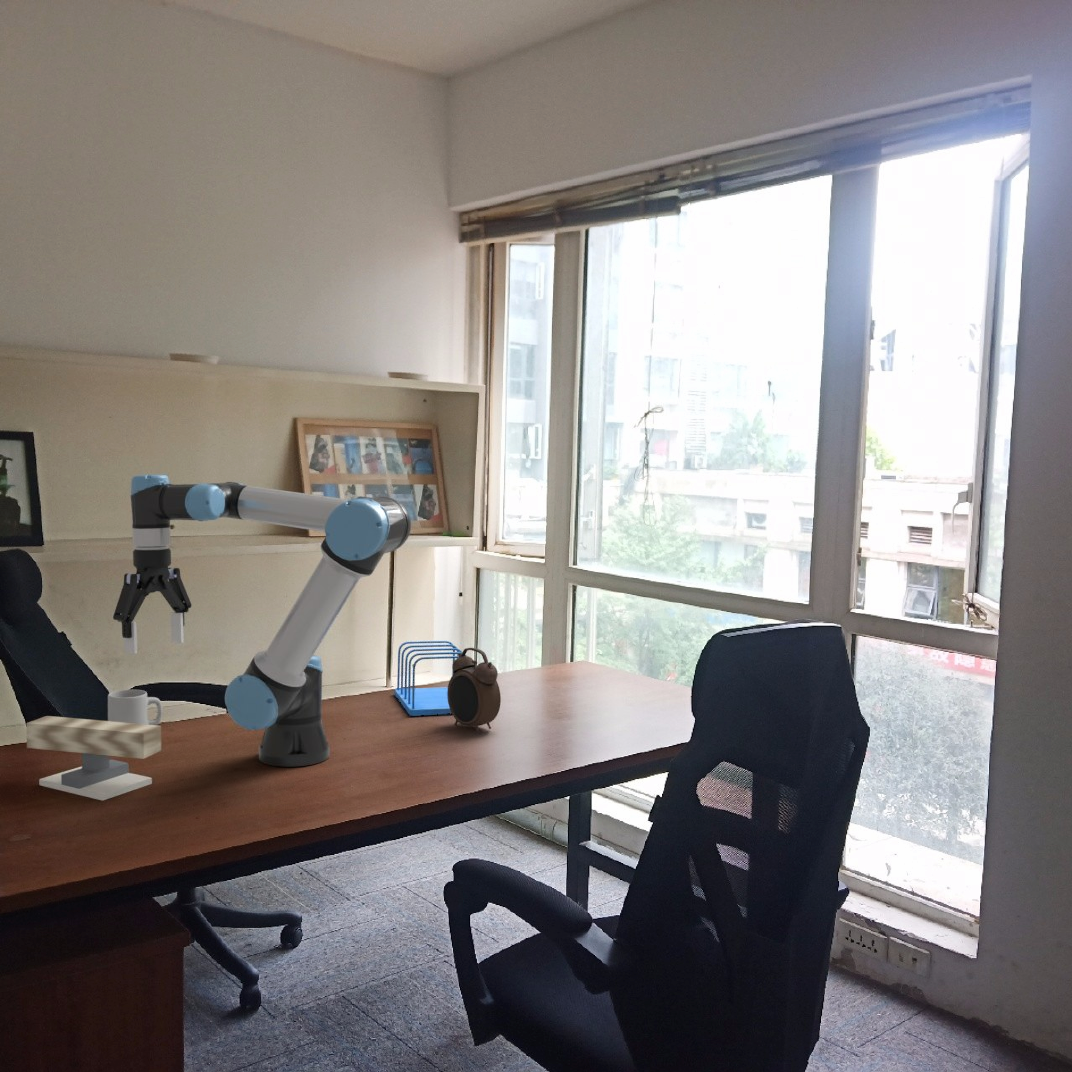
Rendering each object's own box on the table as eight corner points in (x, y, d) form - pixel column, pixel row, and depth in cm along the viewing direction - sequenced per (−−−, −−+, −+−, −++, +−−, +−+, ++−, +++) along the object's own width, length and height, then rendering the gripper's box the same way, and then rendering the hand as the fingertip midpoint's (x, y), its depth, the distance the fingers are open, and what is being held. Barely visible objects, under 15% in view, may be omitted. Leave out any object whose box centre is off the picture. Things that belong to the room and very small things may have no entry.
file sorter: (476, 714, 274) (477, 656, 273) (410, 717, 269) (410, 658, 268) (455, 692, 298) (456, 639, 297) (393, 695, 293) (394, 640, 292)
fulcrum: (151, 783, 212) (151, 748, 211) (102, 800, 201) (102, 763, 201) (89, 769, 220) (89, 735, 220) (39, 785, 210) (38, 749, 209)
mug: (113, 747, 236) (113, 699, 236) (103, 738, 243) (103, 692, 242) (167, 740, 244) (167, 693, 243) (156, 731, 250) (156, 686, 250)
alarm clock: (442, 725, 262) (443, 645, 260) (464, 720, 267) (466, 642, 265) (479, 738, 251) (481, 655, 249) (502, 732, 256) (504, 651, 254)
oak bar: (161, 750, 210) (161, 725, 210) (143, 758, 205) (143, 733, 204) (47, 739, 216) (46, 715, 216) (26, 747, 210) (26, 723, 210)
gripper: (179, 542, 235) (182, 637, 237) (92, 552, 212) (95, 656, 214) (206, 543, 232) (209, 639, 234) (120, 553, 209) (124, 659, 211)
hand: (155, 647), depth 224 cm, fingers open, 13 cm apart
